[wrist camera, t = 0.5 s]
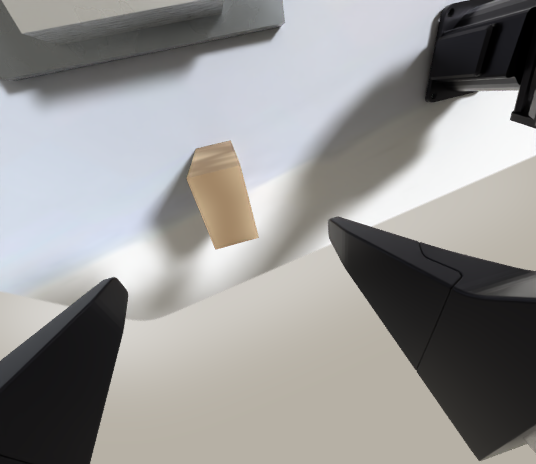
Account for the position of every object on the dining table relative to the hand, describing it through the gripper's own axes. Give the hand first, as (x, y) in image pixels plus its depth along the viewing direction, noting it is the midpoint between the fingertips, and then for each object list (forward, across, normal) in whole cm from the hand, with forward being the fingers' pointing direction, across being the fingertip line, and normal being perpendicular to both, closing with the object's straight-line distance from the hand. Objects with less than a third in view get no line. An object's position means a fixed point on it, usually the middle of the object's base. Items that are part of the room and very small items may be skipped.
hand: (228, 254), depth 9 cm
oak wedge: (+13, 0, 0) cm, 13 cm away
